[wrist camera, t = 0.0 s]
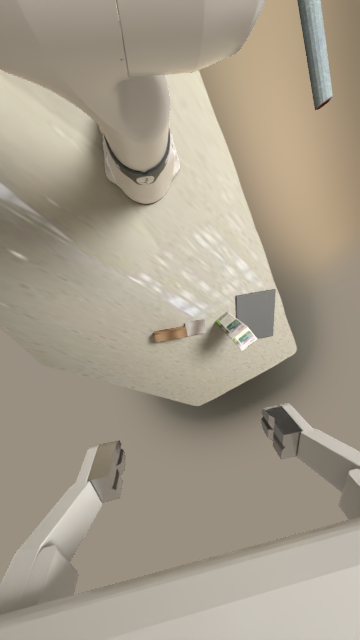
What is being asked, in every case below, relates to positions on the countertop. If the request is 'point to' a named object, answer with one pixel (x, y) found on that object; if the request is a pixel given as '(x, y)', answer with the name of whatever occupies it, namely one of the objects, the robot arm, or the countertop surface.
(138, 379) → the countertop surface
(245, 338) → the syrup box
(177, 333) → the tan wooden bar
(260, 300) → the mat
